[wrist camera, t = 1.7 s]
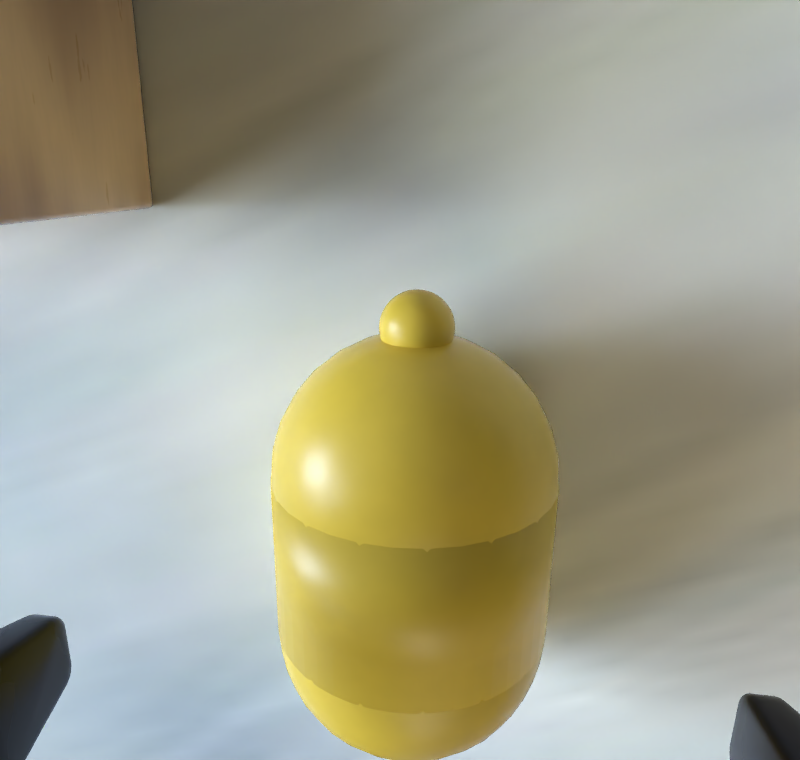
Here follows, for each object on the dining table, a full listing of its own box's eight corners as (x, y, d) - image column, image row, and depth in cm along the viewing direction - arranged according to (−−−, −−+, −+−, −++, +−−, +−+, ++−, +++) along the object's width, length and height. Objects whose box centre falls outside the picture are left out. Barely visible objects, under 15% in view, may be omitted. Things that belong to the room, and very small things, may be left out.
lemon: (528, 670, 15) (539, 887, 10) (322, 647, 16) (248, 842, 11) (562, 272, 12) (598, 333, 8) (310, 264, 13) (205, 316, 8)
